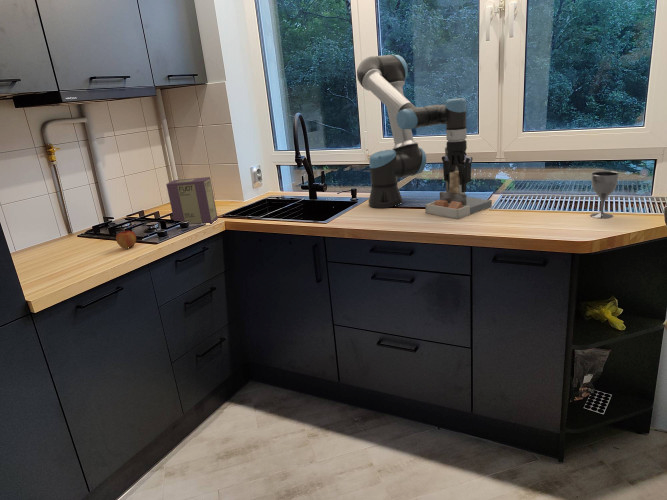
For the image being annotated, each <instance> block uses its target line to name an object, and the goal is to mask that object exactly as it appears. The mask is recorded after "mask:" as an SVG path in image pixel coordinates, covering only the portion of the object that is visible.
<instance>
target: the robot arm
mask: <svg viewBox="0 0 667 500" xmlns="http://www.w3.org/2000/svg"><path fill="white" fill-rule="evenodd" d="M408 71H409V70H408V64H407V62H406V60H405V59H404V58H403V56H401V55H399V54H387V55H376V56H374V55H372V56H367V57H365V58H364V59H362V60H361V62H360V63H359V64H358V67H357V71H356V77H357V81H358V82H359V84H360V85H361V87H362V88H363V89H364V90H365V91H369V92H371V93H372V94H373V95H374V96H375V97H376V98H377V99H378V100H379V101H380V102H381V103H382V104H383V105H384V106H386V109H387V110H386V111H387V114H388V119H389V125H390V127H391V128H390V129H391V134H392V138H393V142H394V146H393V147H392V149H385V150H380V151H377V152H375V153H372V154H371V155H370V157H369V165H368V166H369V173H370V174H369V175H370V184H371V185H370V187H371V190H370V193H369V199H368V207H371V208H376V209H387V208H393V206H395V205H398V204H400V203H402V204H403V196H402V195H401V192H400V189H399V186H398V179H401V178H406V177H413V176H415V175H419V174H421V173H422V172H423V171H424V170H425V168H426V166H427V154H426V152H425V151H424V149H423V148H421V147H419V143H418V142H417V141H415V140H414V135H413V132H412V130H413V129H418V128H422V127H423V128H424V127H430V126H436V125H437V126H438V125H445V126H446V127H445V128H446V129H445V131H446V134H445V135H446V147H447V151H448V153H447V155H446V156H445V155H444V156H442V157H441V161H442V165H443V166H442V170H443V171H442V172H443V181H444V182H446V181H447V182H448V189H449V191H450V172H454V171H455V169H456V166H457V167H458V171H459V177H460V182H461V183H460V184H459V194H466V193H467V184H468V183H471V182H472V181H471V180H472V162H473V157H472V156H471V157H470V156H468V155H467V148H468V145H467V135H468V134H467V101H466V99H465V98H463V97H460V98H449V99H446V101H445V104H436V103H435V104H430V105H427V106H420V107H417V106H415V105H414V104H413V103H412V102H411V101H409V100H408V98H406V96H405V95H404V90H403V89H404V88H403V87H404V85H405V81H406V80H407V77H408V73H409V72H408ZM449 160H450V161H449ZM460 164H461V165H460ZM398 206H399V205H398ZM395 207H396V206H395Z"/></svg>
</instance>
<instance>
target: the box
mask: <svg viewBox="0 0 667 500" xmlns="http://www.w3.org/2000/svg"><path fill="white" fill-rule="evenodd" d="M165 185H166V190H167V194H168V198H169V204H170V207H171V208H170V209H171V212H172V216H173V217H172V218H173V221H188V222H189V224H201V223H210V224H212V223H213V222H214V221H216V220H217V219H218V220H219V218H218V212H217V207H216V201H215V197H214V196H215V195H214V191H213V185H212V181H211V176H207V177H206V176H205V177H204V176H203V177H197V178H196V177H194V178H183V179H174V180H171V181H169V182H168V183H166V184H165ZM218 220H217V221H218ZM217 221H216V222H217Z"/></svg>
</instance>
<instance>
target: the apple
mask: <svg viewBox="0 0 667 500" xmlns="http://www.w3.org/2000/svg"><path fill="white" fill-rule="evenodd" d="M120 230H121V232H119V233H117V234H116V236H115V240H116V243H117V245H118V246H119V247H121V248H123V249H124V248H126V249H127V248H128V247H130V248H132V247H131V246H133V247H134V246H135V244H136V243H137V236H136V233H135V232H134V230H133V231H132V230H124V231H123V228H120Z"/></svg>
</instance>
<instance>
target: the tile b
mask: <svg viewBox="0 0 667 500" xmlns="http://www.w3.org/2000/svg"><path fill="white" fill-rule="evenodd" d="M462 207H463V205H462V203H461V202H456V201H451V203H450V204H449V206H448V207H447V208H453V209H459V208H462Z"/></svg>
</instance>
